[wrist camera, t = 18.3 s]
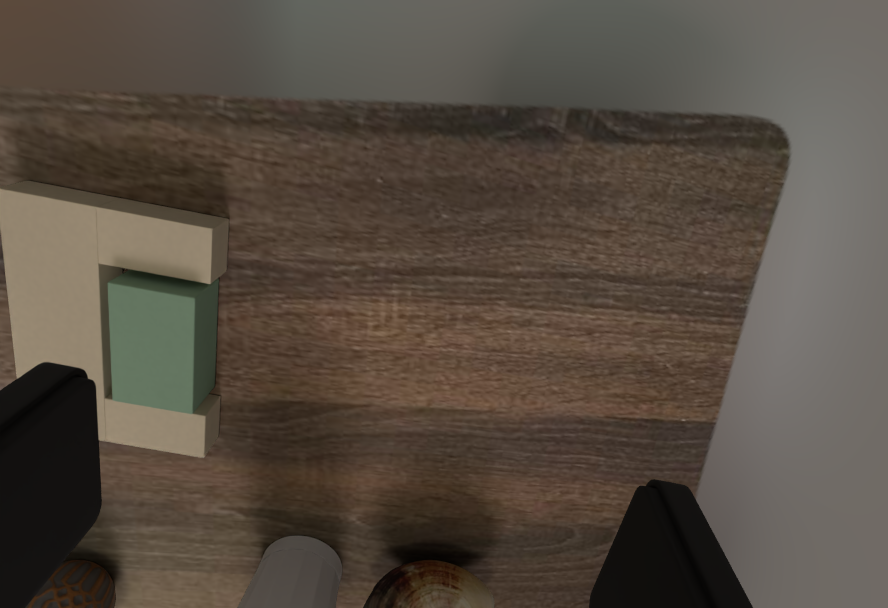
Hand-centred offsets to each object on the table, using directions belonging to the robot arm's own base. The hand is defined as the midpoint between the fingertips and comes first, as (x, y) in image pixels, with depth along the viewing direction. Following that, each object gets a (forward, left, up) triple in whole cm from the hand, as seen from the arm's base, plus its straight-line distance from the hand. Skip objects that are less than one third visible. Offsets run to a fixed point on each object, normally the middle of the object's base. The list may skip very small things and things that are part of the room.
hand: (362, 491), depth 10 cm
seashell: (+28, +5, -25) cm, 38 cm away
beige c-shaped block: (+11, -18, -25) cm, 33 cm away
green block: (+11, -15, -25) cm, 31 cm away
